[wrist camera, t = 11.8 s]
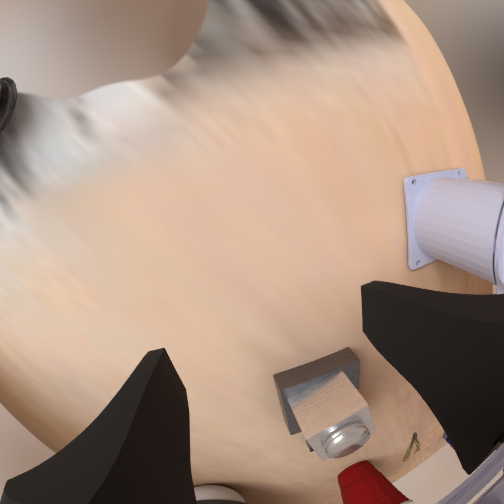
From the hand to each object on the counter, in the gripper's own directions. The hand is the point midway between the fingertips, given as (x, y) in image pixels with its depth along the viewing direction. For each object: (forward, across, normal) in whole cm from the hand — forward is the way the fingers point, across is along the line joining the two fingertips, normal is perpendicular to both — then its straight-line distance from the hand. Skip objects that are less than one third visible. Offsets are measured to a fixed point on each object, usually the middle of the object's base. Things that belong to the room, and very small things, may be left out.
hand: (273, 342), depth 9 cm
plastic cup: (+10, -9, +40) cm, 42 cm away
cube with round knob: (+7, -4, +14) cm, 16 cm away
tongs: (+10, -22, +45) cm, 51 cm away
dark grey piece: (+9, -4, +17) cm, 20 cm away
